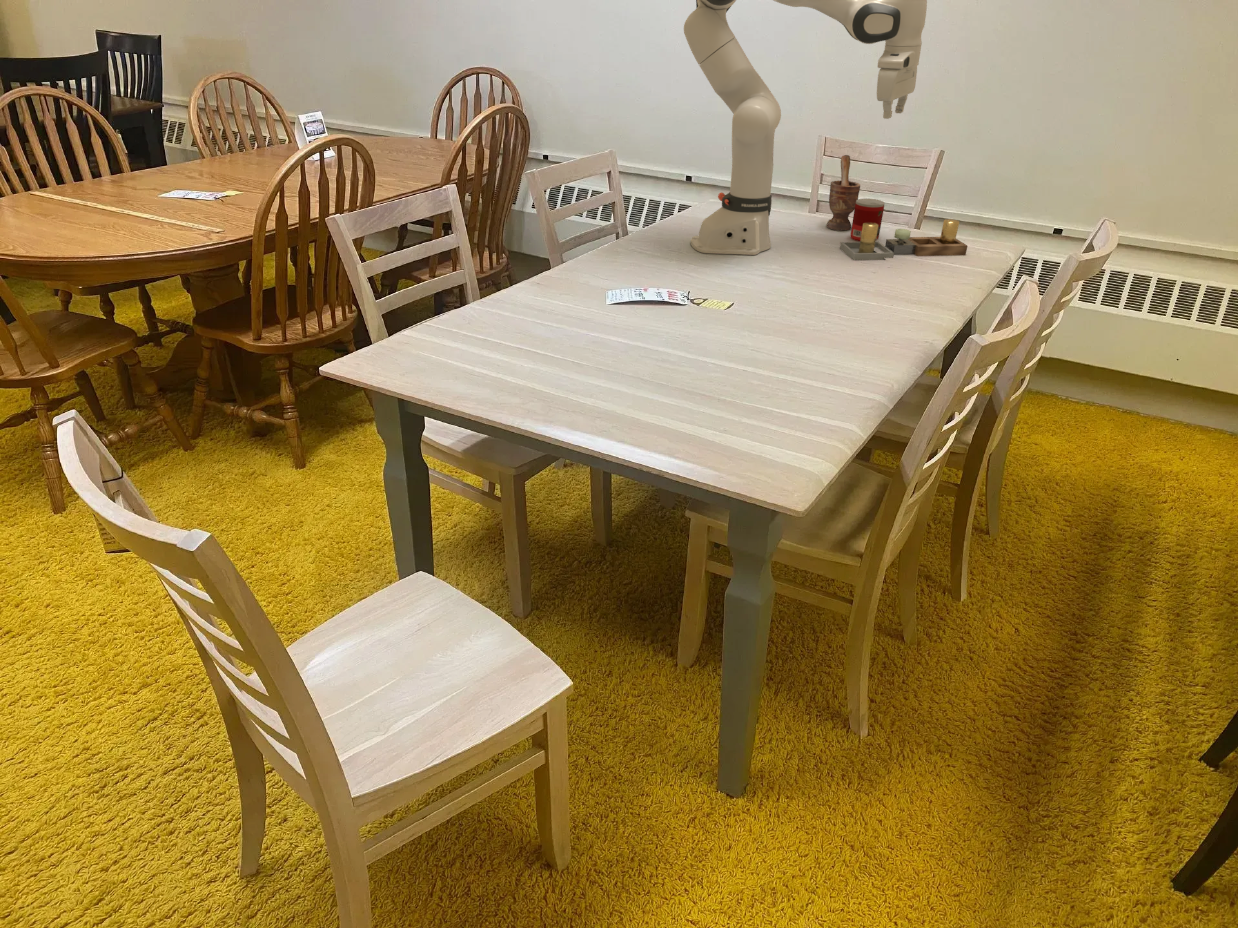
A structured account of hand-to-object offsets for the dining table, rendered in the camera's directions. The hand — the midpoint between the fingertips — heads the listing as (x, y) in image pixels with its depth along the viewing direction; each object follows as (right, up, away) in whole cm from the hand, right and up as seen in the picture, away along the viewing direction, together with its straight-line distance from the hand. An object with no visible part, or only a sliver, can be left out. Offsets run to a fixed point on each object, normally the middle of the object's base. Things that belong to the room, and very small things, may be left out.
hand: (893, 115), depth 220 cm
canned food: (-1, -27, +22) cm, 35 cm away
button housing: (+5, -34, +10) cm, 36 cm away
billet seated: (+18, -33, +11) cm, 39 cm away
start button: (+5, -33, +9) cm, 34 cm away
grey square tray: (-5, -35, +9) cm, 36 cm away
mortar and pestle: (-6, -20, +34) cm, 40 cm away
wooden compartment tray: (+15, -34, +11) cm, 38 cm away
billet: (-5, -34, +9) cm, 36 cm away
